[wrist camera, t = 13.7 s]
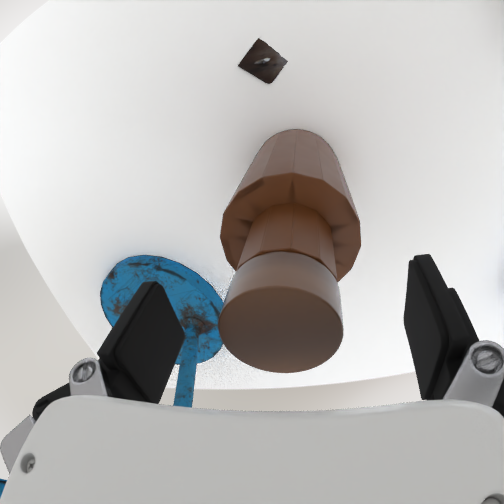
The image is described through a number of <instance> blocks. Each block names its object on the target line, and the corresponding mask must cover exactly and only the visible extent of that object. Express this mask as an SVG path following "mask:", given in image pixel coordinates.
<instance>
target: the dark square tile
mask: <svg viewBox="0 0 504 504" xmlns="http://www.w3.org/2000/svg"><path fill="white" fill-rule="evenodd" d="M287 62H288V61H287V60H285V59H284V58H283V57H281V56H280V54H279V53H278V52H276V51H275V50H274V49H272V47H270V46H268V44H267V43H266V42H264V41H262V40H260V39H259V38H258V40H257V41H256V42H255V43H254V45H253V46H252V48H251V49H250V50H249V51H248V53H247V54H246V55H245V57H244V58H243V59H242V61H241V62H240V64H239V65H238V66H239V67H240V68H242V69H244V70H245V71H247V72H249V73H251V74H252V75H254V76H255V77H257V78H259V79H260V80H262V81H264V82H265V83H272V82H273V80H274V79H275V78H276V76H277V75H278V74H279V72H280V71H281V70H282V68H283V66H284V65H285V64H286V63H287Z"/></svg>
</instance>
